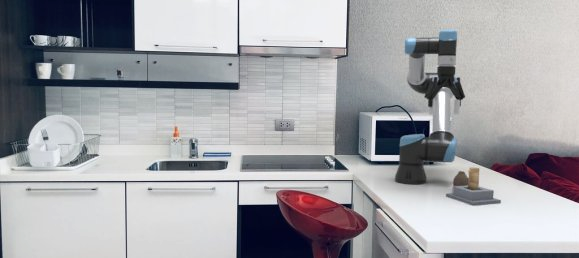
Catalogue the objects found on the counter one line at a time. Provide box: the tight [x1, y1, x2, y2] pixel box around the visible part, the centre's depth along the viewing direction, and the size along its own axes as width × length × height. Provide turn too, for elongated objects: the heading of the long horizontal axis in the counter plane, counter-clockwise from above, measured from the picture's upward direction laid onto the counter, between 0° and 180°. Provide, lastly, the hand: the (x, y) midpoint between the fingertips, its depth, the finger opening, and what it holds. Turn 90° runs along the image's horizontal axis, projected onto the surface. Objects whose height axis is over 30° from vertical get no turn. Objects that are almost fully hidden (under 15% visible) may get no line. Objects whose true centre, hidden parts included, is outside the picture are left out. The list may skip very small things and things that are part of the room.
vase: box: [452, 170, 469, 187], centre depth 202 cm, size 7×7×9 cm
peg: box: [468, 167, 480, 190], centre depth 186 cm, size 4×4×12 cm
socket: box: [445, 185, 502, 206], centre depth 186 cm, size 16×14×5 cm
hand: (444, 114), depth 198 cm, fingers open, 13 cm apart
